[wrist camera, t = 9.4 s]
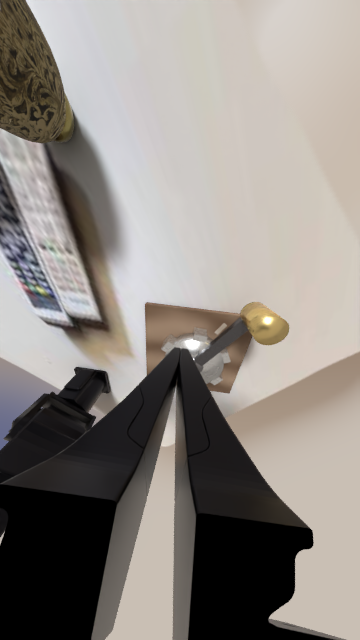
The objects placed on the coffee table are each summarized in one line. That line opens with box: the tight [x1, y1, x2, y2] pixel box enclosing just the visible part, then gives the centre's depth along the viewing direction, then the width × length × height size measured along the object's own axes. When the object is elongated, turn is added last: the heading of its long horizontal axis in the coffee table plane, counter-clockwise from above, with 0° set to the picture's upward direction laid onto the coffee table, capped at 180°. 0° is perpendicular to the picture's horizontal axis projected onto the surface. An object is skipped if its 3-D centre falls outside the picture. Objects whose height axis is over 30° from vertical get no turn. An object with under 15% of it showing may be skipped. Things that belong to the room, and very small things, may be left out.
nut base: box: [145, 302, 252, 393], centre depth 22 cm, size 16×16×1 cm
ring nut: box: [161, 302, 289, 385], centre depth 18 cm, size 18×11×6 cm, turn 141°
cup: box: [0, 0, 74, 143], centre depth 9 cm, size 8×7×8 cm
